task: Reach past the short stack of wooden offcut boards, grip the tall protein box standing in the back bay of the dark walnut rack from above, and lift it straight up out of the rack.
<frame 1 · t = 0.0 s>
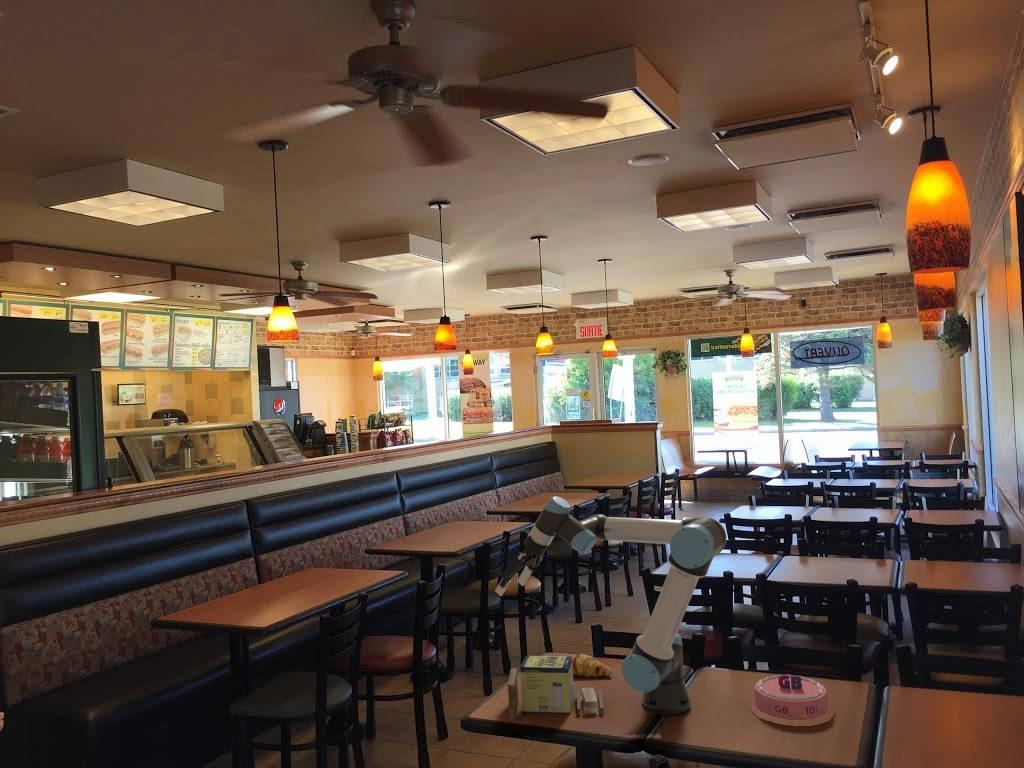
hand: (509, 588, 264), 36 cm above the table, tool tilted 35°, fingers open, 13 cm apart
offcut stack: (589, 705, 251), point 1 cm above the table, touching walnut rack
croissant: (584, 674, 281), on the table
protein box: (549, 710, 252), on the table
cake: (791, 710, 242), on the table
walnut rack: (558, 709, 251), on the table
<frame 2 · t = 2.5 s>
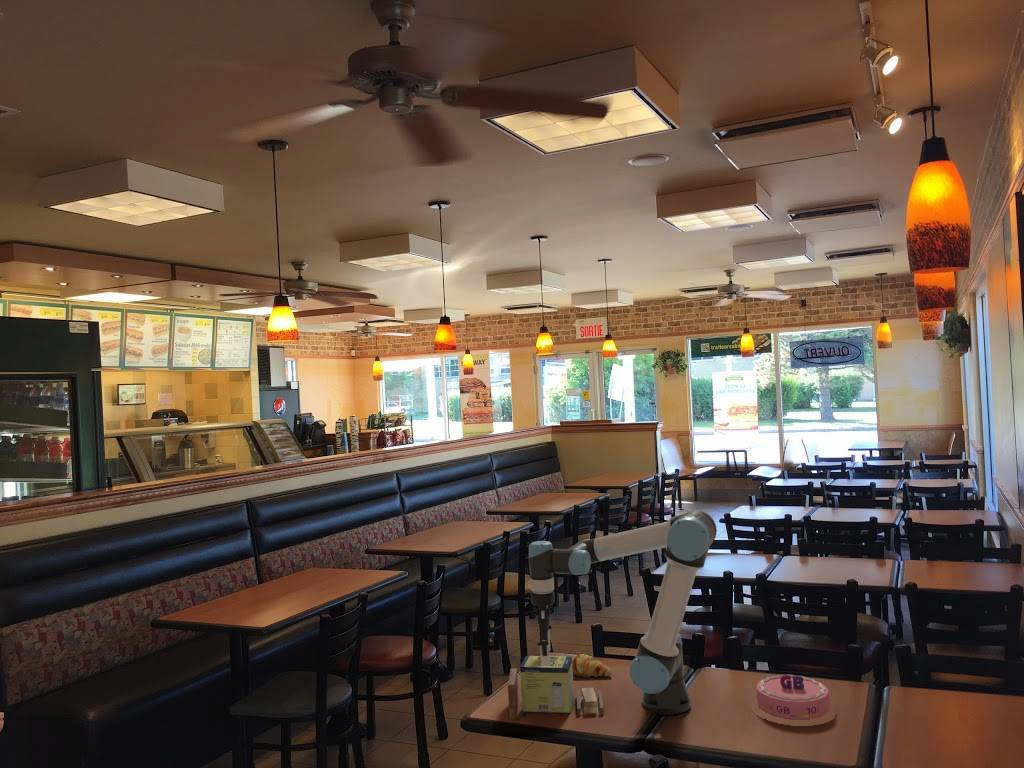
hand: (545, 657, 252), 16 cm above the table, tool pointing down, fingers open, 13 cm apart
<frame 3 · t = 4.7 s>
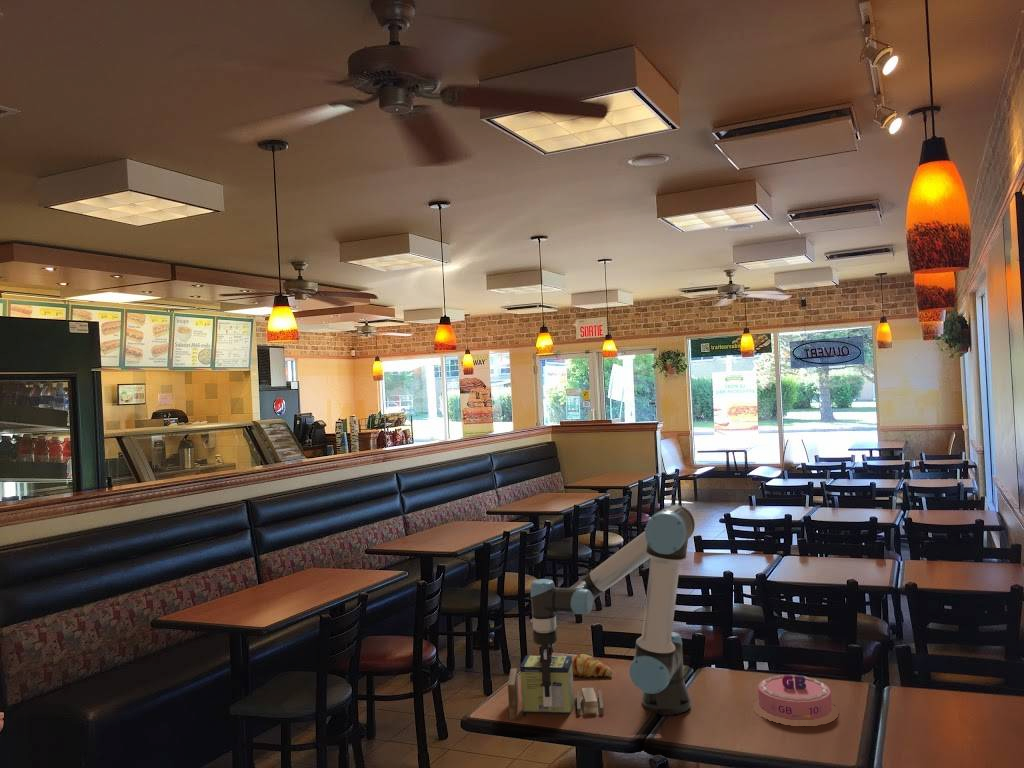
hand: (548, 698, 252), 4 cm above the table, tool pointing down, fingers closed on protein box, 11 cm apart
protein box: (549, 710, 252), on the table, touching gripper
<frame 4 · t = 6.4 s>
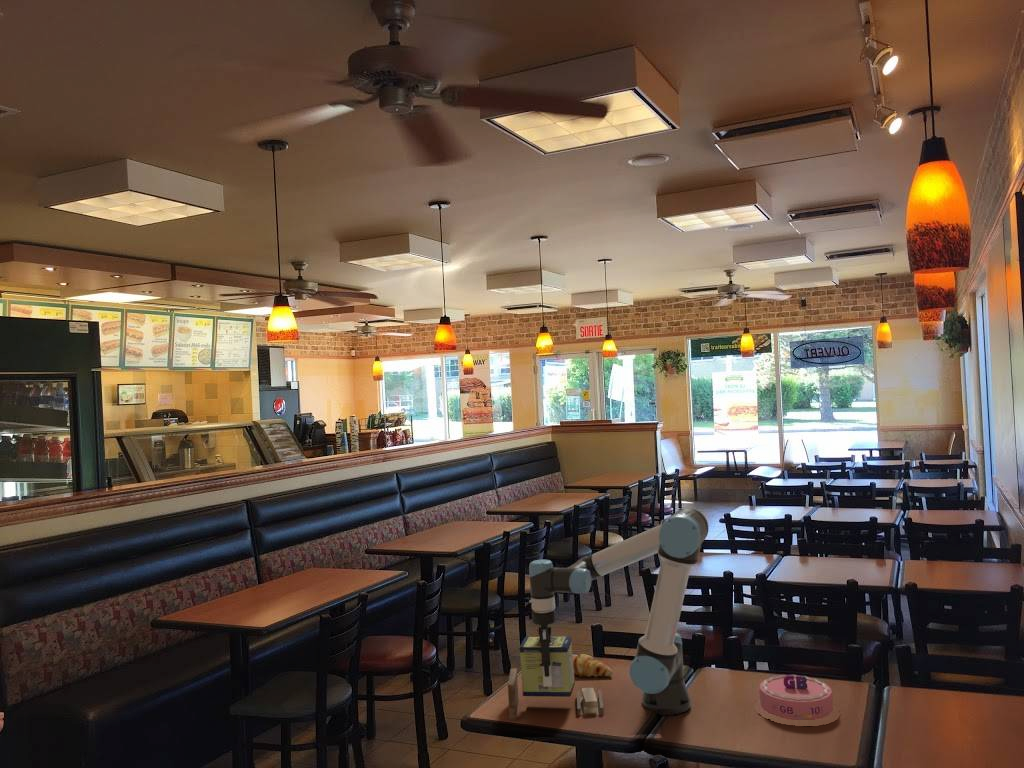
hand: (548, 679, 251), 10 cm above the table, tool pointing down, fingers closed on protein box, 11 cm apart
protein box: (548, 691, 251), point 6 cm above the table, touching gripper
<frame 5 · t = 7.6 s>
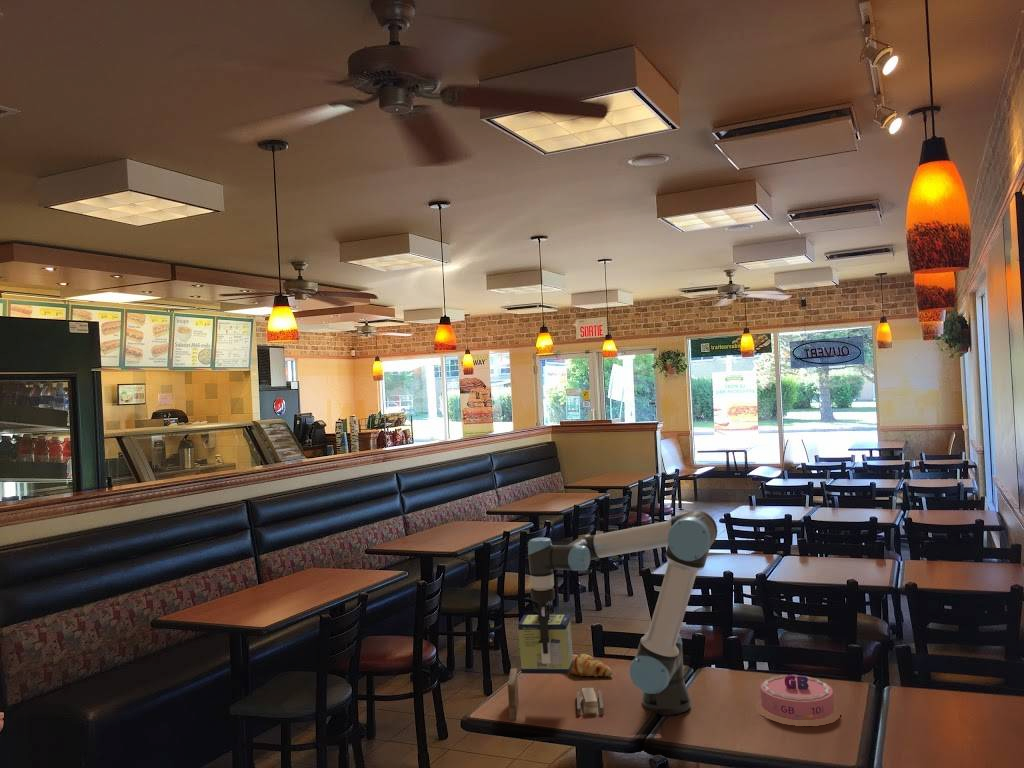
hand: (546, 656, 251), 17 cm above the table, tool pointing down, fingers closed on protein box, 11 cm apart
protein box: (547, 668, 251), point 13 cm above the table, touching gripper
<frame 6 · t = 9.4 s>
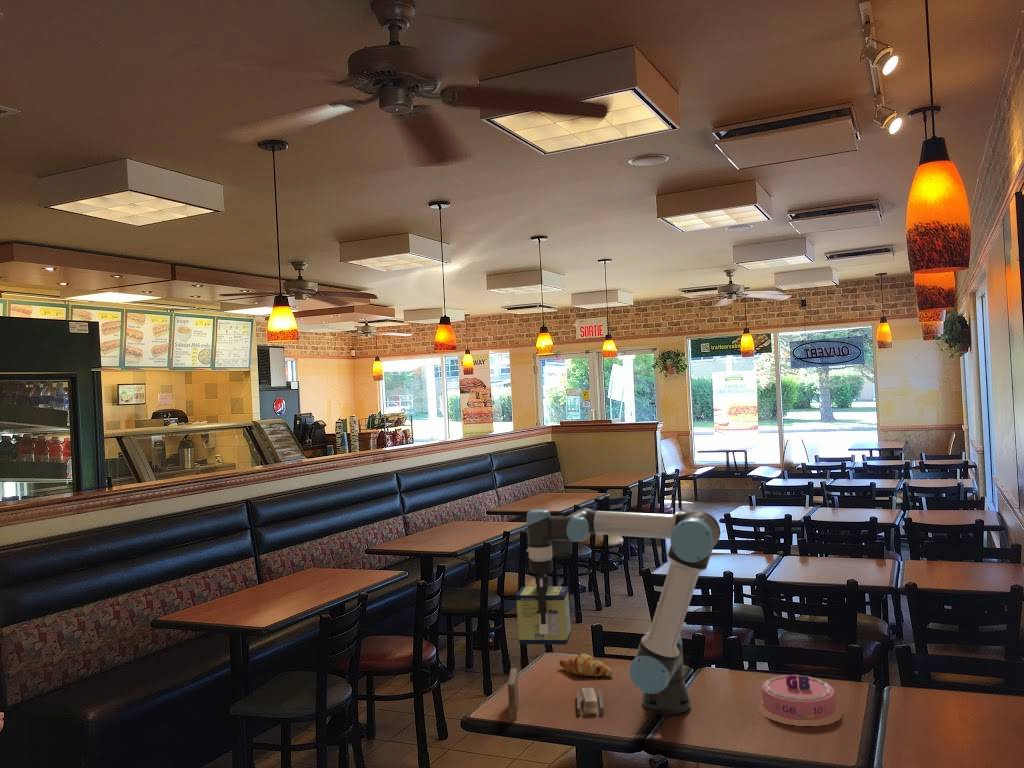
hand: (544, 628, 252), 26 cm above the table, tool pointing down, fingers closed on protein box, 11 cm apart
protein box: (545, 640, 252), point 22 cm above the table, touching gripper
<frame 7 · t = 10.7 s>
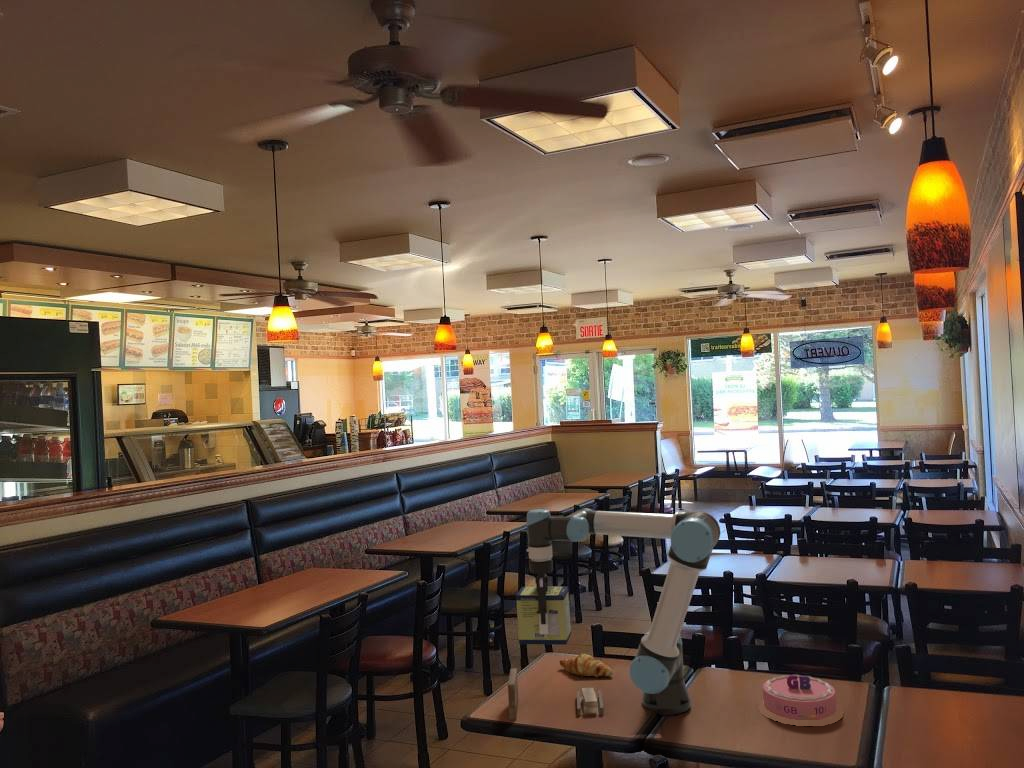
hand: (544, 628, 252), 26 cm above the table, tool pointing down, fingers closed on protein box, 11 cm apart
protein box: (545, 640, 252), point 22 cm above the table, touching gripper
at the end: protein box point 22.2 cm above the table; the gripper is holding protein box; offcut stack moved 0.0 cm from its start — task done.
